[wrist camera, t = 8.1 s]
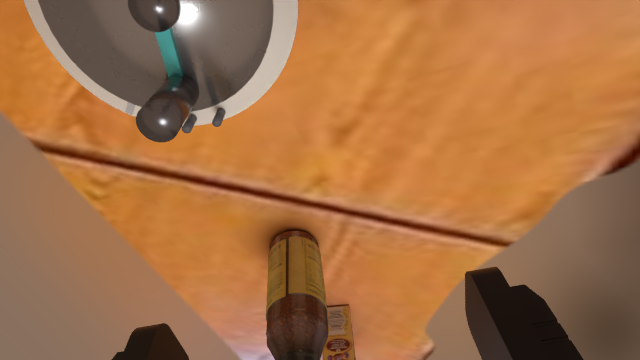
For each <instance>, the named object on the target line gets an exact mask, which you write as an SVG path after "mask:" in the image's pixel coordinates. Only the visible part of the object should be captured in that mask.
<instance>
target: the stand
mask: <svg viewBox="0 0 640 360" xmlns="http://www.w3.org/2000/svg"><path fill="white" fill-rule="evenodd" d="M273 2H274V15H273V26H272V32H271V37H270V41H269V44H268V47H267V50H266V53H265V56H264V58H263V60H262V62H261V64H260V66H259V68H258V69H257V71H256V72H255V74H254V75H253V77H252V78H251V79H250V80H249V81H248V83H247V84H246V85H245V86H244V87H243V88H242V89H240V90H239V91H238V92H237V93H236V94H235V95H233V96H232V97H230V98H228V99H227V100H225V101H224V102H221V103H219V104H217V105H215V106H213V107H209V108H206V109H203V110H198V111H192V112H190V113H189V115H188V117H187V118H186V120H185V122H184V123H183V125H182V126H183V127H182V131H183V132H184V133H190V132H191V130H192V128H193V126H196V125H205V124H209V123H212V124H213V125H214V126H215V127H219V126H220V125H221V123H222V121H223V120H224V119H226V118H229V117H232V116H234V115H236V114H238V113H240V112H241V111H243V110H245V109H247V108H248V107H249V106H251V105H252V104H253V103H255V102H256V101H258V100H259V99H260V98H261V97H262V96H263V95H264V94H265V93H266V92H267V91H268V90H269V88H270V87H271V86H272V85H273V83H274V82H275V81H276V79H277V78H278V76H279V75H280V73H281V71H282V69H283V68H284V66H285V64H286V62H287V59H288V57H289V54H290V52H291V49H292V45H293V41H294V38H295V34H296V27H297V19H298V0H273ZM24 3H25V6H26V8H27V10H28V13H29V15H30V17H31V19H32V21H33V24H34V26H35V27H36V29H37V31H38V33H39V34H40V36H41V38H42V39H43V41H44V43H45V44H46V46H47V47H48V48H49V50H50V51H51V52H52V54H53V55H54V56H55V58H56V59H57V60H58V61H59V63H60V64H61V65H62V66H63V67H64V68H65V69H66V70H67V72H68V73H69V74H70V75H71V76H72V77H74V78H75V79H76V80H77V81H78V82H79V83H80V84H81V85H82V86H83V87H85V88H86V89H87V90H89V91H90V92H91V93H93V94H94V95H95V96H97V97H98V98H99V99H101V100H103V101H104V102H106V103H108V104H109V105H111V106H113V107H114V108H117V109H119V110H121V111H123V112H125V113H127V114H129V115H132V116H135V117H136V116H137V113H138V111H139V110H140V109H141V108H142V107H140V106H137V105H134V104H132V103H129V102H127V101H125V100H123V99H120V98H119V97H117V96H115V95H113V94H112V93H110V92H108V91H106V90H105V89H104V88H102V87H101V86H99V85H98V84H96V83H95V82H94V81H93V80H91V79H90V78H89V77H88V76H87V75H86V74H85V73H83V72H82V71H81V70H80V69H79V68H78V67H77V66H76V64H75V63H74V62H73V61H72V60H71V59H70V58H69V57H68V55H67V54H66V53H65V51H64V50H63V49H62V48H61V46H60V45H59V43H58V42H57V40H56V38H55V37H54V35H53V34H52V32H51V30H50V28H49V26H48V24H47V22H46V20H45V18H44V16H43V13H42V10H41V8H40V5H39V2H38V0H24Z"/></svg>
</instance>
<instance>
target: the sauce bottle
mask: <svg viewBox="0 0 640 360" xmlns="http://www.w3.org/2000/svg"><path fill="white" fill-rule="evenodd" d="M266 320H267V332H266V335H267V346H268V348H269V350H270V351H271V353H272V355H273V357H274V359H275V360H320V358H321V355H322V351H323V348H324V346H325V343H326V341H327V339H328V317H327V305H326V295H325V287H324V279H323V271H322V263H321V255H320V250H319V246H318V244H317V242H316V241H315V240H314V238H313V237H312V236H311V235H309V234H308V233H306V232H303V231H286V232H284V233H281V234H280V235H278V236H277V237H276V238H275V239H274V240H273V241H272V243H271V246H270V253H269V259H268V283H267V307H266Z"/></svg>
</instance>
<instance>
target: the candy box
mask: <svg viewBox="0 0 640 360" xmlns="http://www.w3.org/2000/svg"><path fill="white" fill-rule="evenodd" d="M327 317H328V339H327V341H326V343H325V346H324V348H323V360H356V358H355V350H354V342H353V333H352V325H351V316H350V306H349V305H346V306H334V307H327Z"/></svg>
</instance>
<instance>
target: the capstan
mask: <svg viewBox="0 0 640 360" xmlns="http://www.w3.org/2000/svg"><path fill="white" fill-rule="evenodd" d="M38 2H39V5H40V8H41V10H42V13H43V16H44V18H45V20H46V22H47V24H48V26H49V28H50V30H51V32H52V34H53V35H54V37H55V38H56V40H57V42H58V43H59V45H60V46H61V48H62V49H63V50H64V51H65V53H66V54H67V55H68V57H69V58H70V59H71V60H72V61H73V62H74V63H75V64H76V66H77V67H78V68H79V69H80V70H81V71H82V72H83V73H85V74H86V75H87V76H88V77H89V78H90V79H91V80H93V81H94V82H95V83H96V84H98V85H99V86H101V87H102V88H104V89H105V90H106V91H108V92H110V93H112V94H113V95H115V96H117V97H119V98H120V99H123V100H125V101H127V102H129V103H132V104H134V105H137V106H140V107H142V108H141V109H140V110H139V111H138V113H137V116H136V124H137V127H138V129H139V130H140V132H141V133H142V134H143V135H144V136H145V137H147V138H148V139H150V140H152V141H155V142H167V141H170V140H172V139H173V138H174V137H175V136H176V135H177V133H178V132H179V130H180V128H181V127H182V125H183V123H184V122H185V120H186V118H187V117H188V115H189V113H190V112H192V111H198V110H203V109H206V108H209V107H213V106H215V105H217V104H219V103H221V102H224V101H225V100H227V99H228V98H230V97H232V96H233V95H235V94H236V93H237V92H238V91H239V90H240V89H242V88H243V87H244V86H245V85H246V84H247V83H248V81H249V80H250V79H251V78H252V77H253V75H254V74H255V72H256V71H257V69H258V68H259V66H260V64H261V62H262V60H263V58H264V56H265V53H266V50H267V47H268V44H269V41H270V37H271V32H272V26H273V15H274V2H273V0H38Z"/></svg>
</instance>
